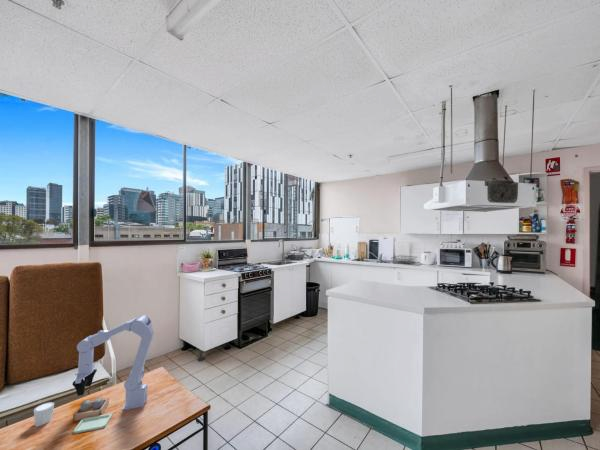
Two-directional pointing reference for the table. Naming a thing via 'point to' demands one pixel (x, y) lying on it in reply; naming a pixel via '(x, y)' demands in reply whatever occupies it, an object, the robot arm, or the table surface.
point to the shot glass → (43, 413)
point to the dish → (92, 413)
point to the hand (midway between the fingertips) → (84, 390)
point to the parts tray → (92, 423)
